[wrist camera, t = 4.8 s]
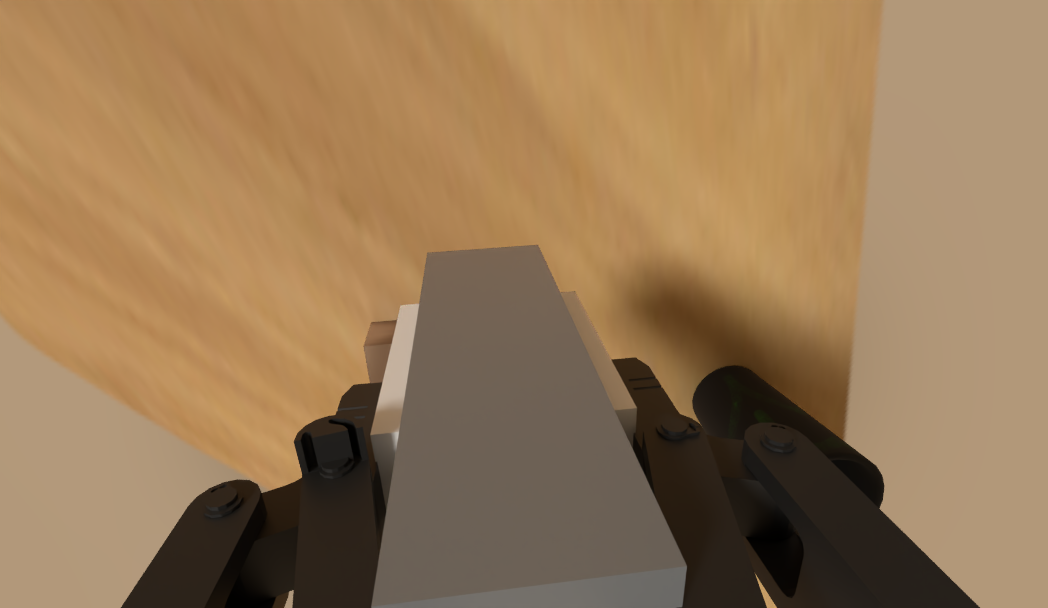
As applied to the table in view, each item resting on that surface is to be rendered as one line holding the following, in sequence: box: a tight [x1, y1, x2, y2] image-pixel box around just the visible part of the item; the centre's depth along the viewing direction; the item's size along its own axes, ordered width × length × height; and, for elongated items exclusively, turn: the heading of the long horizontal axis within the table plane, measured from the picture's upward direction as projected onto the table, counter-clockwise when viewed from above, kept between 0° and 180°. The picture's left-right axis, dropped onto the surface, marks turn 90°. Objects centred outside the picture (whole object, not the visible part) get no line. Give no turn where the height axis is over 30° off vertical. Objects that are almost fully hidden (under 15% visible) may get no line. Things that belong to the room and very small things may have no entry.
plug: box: [371, 245, 687, 608], centre depth 14 cm, size 4×4×14 cm
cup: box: [693, 366, 884, 508], centre depth 37 cm, size 8×8×12 cm
